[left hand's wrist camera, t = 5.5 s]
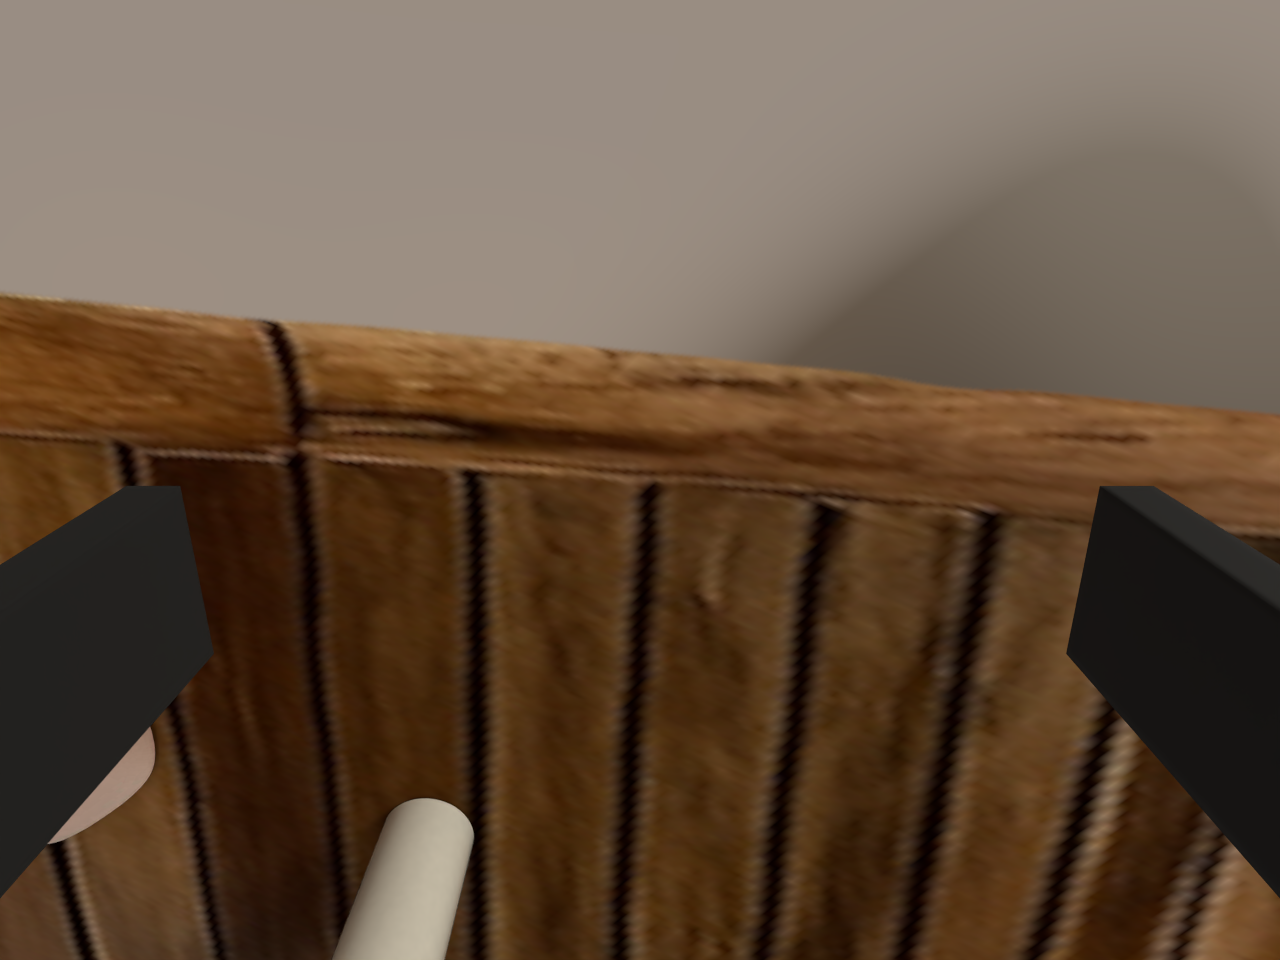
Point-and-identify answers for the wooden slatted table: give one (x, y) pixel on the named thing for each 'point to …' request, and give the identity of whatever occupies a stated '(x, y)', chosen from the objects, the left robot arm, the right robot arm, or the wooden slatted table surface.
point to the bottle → (410, 885)
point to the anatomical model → (113, 787)
